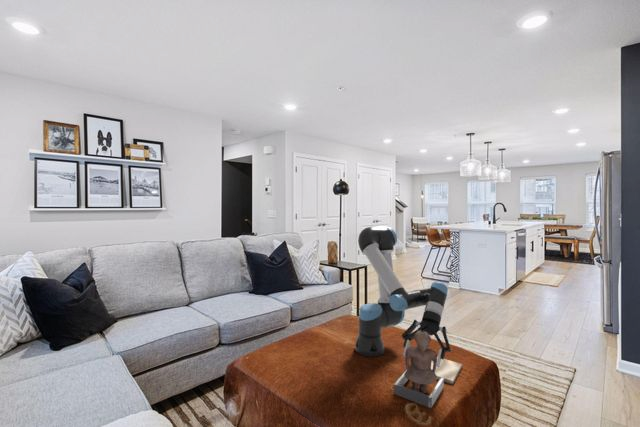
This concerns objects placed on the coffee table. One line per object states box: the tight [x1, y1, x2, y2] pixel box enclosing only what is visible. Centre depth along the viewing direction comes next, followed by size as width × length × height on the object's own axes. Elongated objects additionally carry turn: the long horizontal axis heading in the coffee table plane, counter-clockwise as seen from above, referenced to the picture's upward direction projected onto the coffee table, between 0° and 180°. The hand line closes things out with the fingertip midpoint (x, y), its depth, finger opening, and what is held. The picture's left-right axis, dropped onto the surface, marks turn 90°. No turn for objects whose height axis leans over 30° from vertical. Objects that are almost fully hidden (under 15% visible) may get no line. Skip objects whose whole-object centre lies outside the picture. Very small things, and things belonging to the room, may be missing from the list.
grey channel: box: [393, 369, 445, 409], centre depth 132 cm, size 15×17×4 cm
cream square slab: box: [431, 356, 463, 385], centre depth 149 cm, size 16×18×2 cm
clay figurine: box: [403, 331, 438, 394], centre depth 132 cm, size 13×10×25 cm
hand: (420, 360), depth 131 cm, fingers open, 13 cm apart
